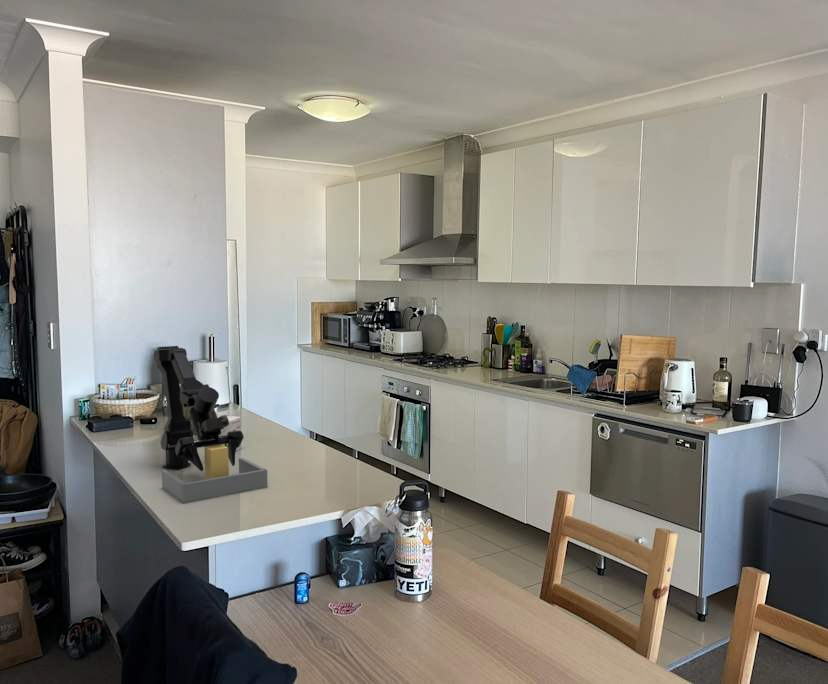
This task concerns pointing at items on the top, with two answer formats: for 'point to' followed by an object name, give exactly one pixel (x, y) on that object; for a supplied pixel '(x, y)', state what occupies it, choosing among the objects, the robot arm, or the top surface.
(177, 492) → the open box
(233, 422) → the ink box
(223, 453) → the ochre block
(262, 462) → the top surface
